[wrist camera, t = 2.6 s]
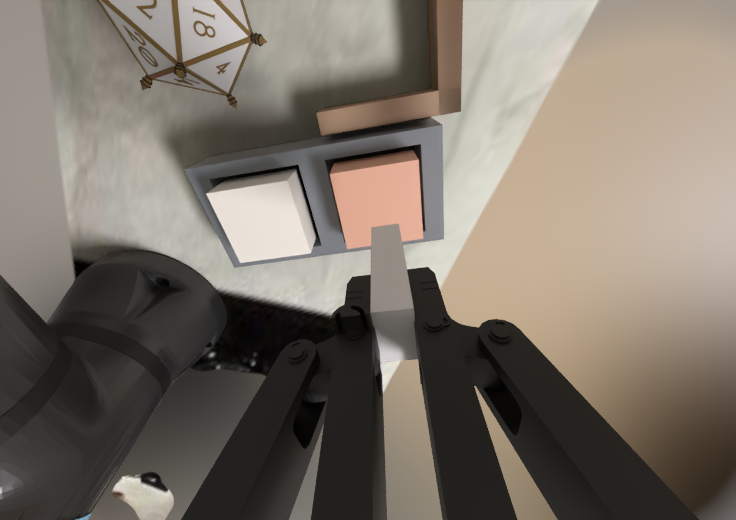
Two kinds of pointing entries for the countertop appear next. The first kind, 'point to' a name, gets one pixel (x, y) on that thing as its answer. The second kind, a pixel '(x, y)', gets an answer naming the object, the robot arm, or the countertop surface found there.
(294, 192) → the ivory key
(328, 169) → the key panel
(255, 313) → the countertop surface
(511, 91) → the countertop surface
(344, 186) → the terracotta key
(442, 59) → the walnut bracket
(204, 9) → the game die
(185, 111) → the countertop surface
